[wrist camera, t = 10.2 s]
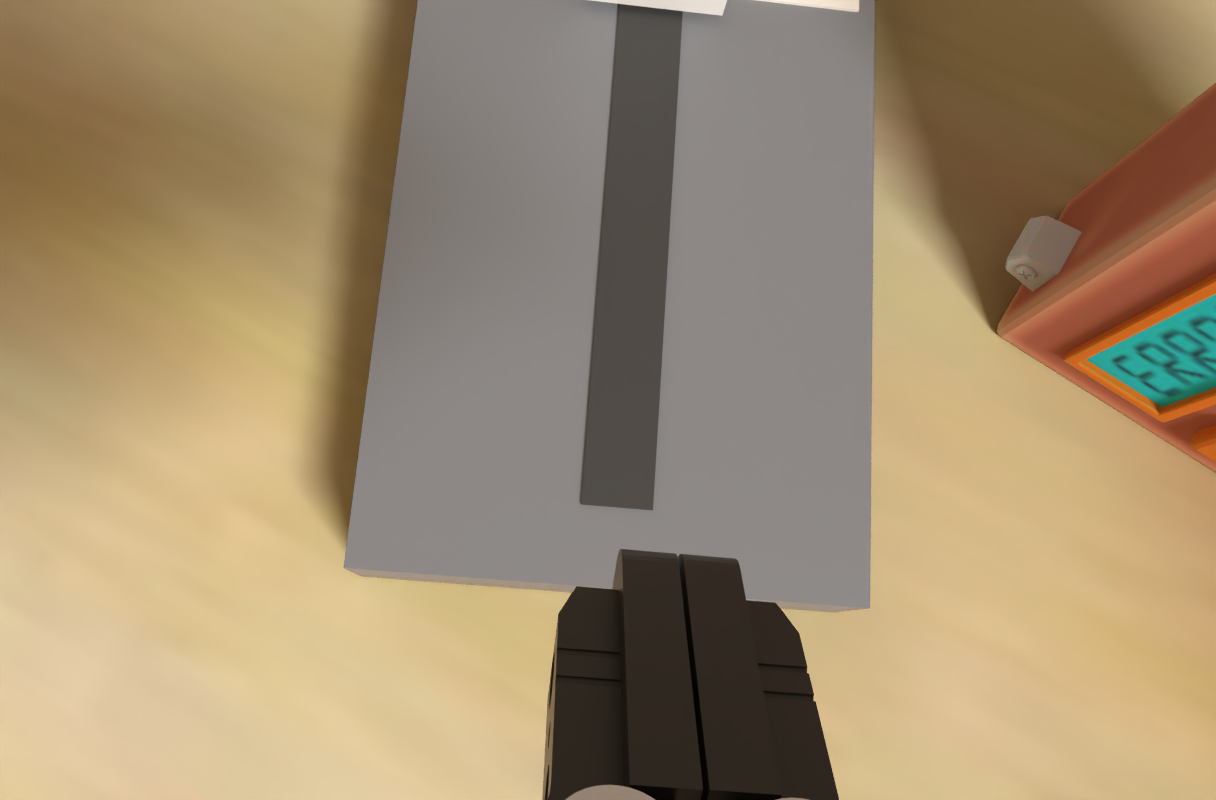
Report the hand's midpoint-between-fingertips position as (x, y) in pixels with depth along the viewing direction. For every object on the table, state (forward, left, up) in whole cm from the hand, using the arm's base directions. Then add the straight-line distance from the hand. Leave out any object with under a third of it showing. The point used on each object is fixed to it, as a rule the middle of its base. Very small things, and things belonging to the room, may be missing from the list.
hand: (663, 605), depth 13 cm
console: (0, -14, -15) cm, 21 cm away
